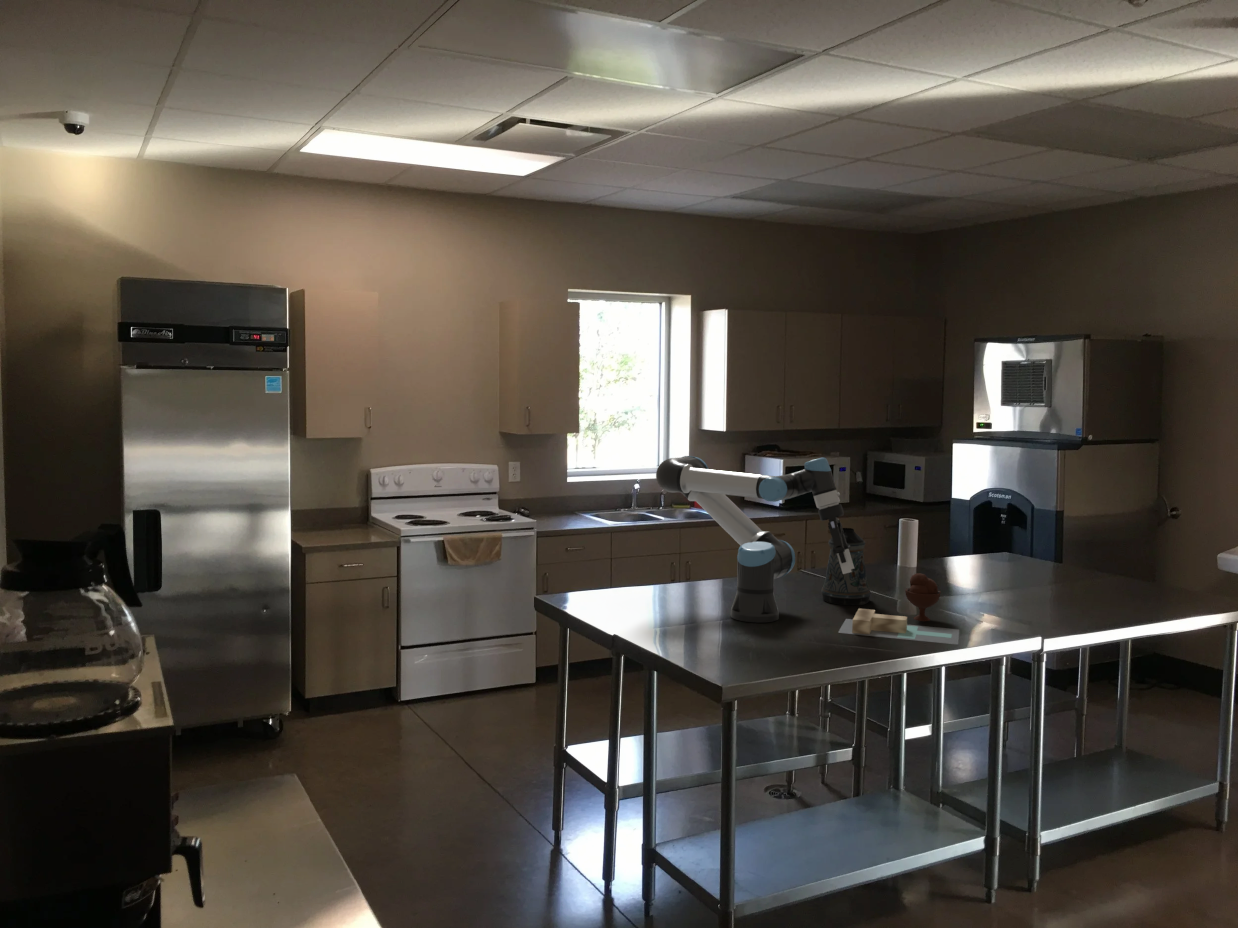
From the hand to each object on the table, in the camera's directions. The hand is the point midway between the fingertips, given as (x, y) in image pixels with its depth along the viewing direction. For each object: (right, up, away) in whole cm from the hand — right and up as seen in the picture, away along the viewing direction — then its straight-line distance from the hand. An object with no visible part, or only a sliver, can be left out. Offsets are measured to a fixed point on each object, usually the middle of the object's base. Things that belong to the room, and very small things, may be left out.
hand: (848, 571), depth 313 cm
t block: (+7, -16, -11) cm, 21 cm away
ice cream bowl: (+24, -16, +4) cm, 29 cm away
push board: (+12, -17, -12) cm, 24 cm away
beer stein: (+6, -14, +30) cm, 34 cm away
